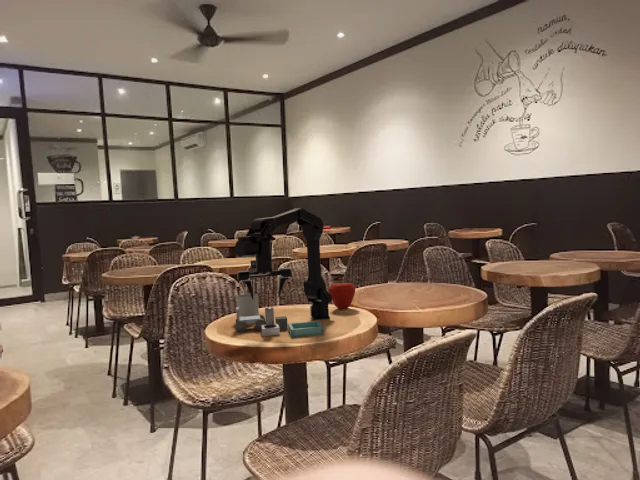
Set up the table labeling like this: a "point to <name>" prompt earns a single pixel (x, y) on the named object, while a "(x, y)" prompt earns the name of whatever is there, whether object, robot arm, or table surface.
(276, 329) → the socket
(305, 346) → the table surface
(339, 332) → the table surface
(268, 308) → the pin
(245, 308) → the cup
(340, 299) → the apple
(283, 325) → the dark grey cube
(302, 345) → the table surface
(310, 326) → the tray
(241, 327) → the trolley
